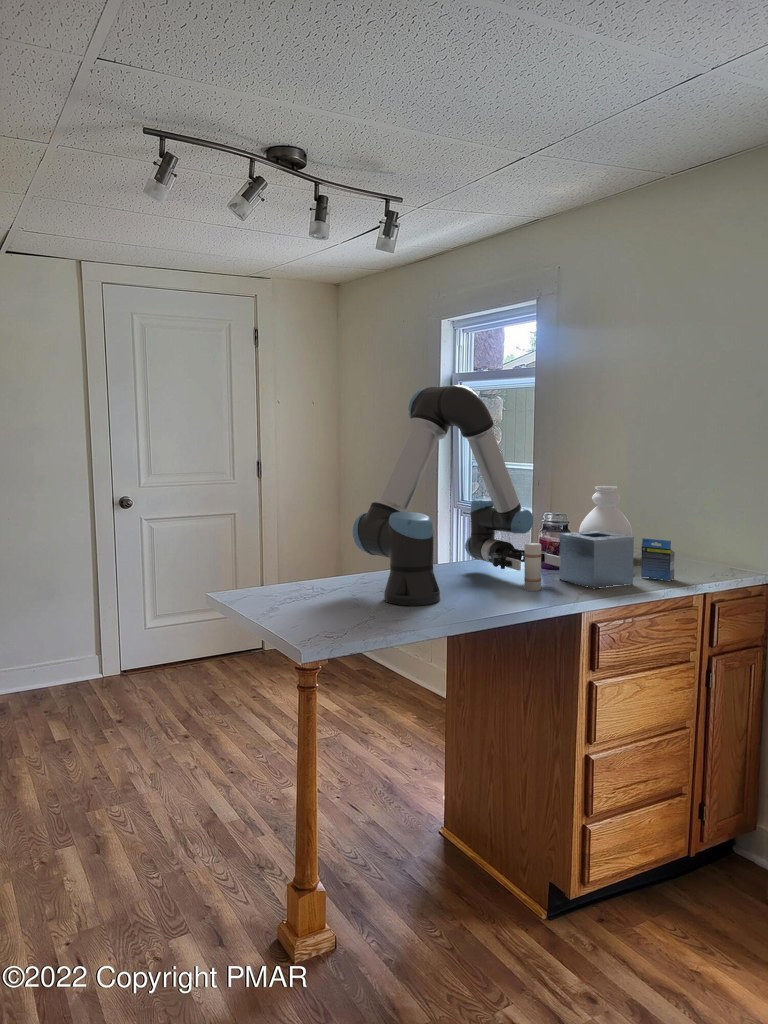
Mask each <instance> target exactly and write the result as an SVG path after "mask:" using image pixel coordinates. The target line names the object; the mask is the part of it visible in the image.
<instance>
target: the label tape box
mask: <svg viewBox="0 0 768 1024" xmlns="http://www.w3.org/2000/svg"><path fill="white" fill-rule="evenodd" d="M641 540H642V541H641V564H640V565H641V566H640V567H641V568H640V569H641V571H640V573H641V574H640V576H641V577H649V578H656V579H663V580H670V581H669V582H672V581H673V580H672V579H674V580H675V555H676V554H675V551H673V550H672V549H671V548H672V547H671V546H672V540H665V539H656V538H655V539H654V538H645V537H644V538H642V539H641ZM656 543H657V544H660V545H656ZM663 580H662V581H663ZM671 580H672V581H671Z"/></svg>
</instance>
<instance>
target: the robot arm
mask: <svg viewBox="0 0 768 1024" xmlns="http://www.w3.org/2000/svg"><path fill="white" fill-rule="evenodd" d="M408 411H409V413H408V416H409V418H410V419H409V421H408V424H409V426H410V428H411V429H410V430H409V433H408V435H407V437H406V439H405V442H404V444H403V447H402V449H401V450H400V452H399V453H400V454H399V455H398V457H397V459H396V461H395V464H394V466H393V468H392V470H391V472H390V475H389V477H388V480H387V482H386V484H385V485H384V488H383V489H382V493H381V494H380V497H379V499H377V500H374V501H372V502H371V504H370V506H369V509H368V511H367V512H363V513H361V514H360V515H359V516H357V518H356V519H355V521H353V522H354V523H353V525H352V536H353V539H354V543H355V545H356V547H357V548H358V549H359V550H360V551H362V552H363V553H366V554H368V555H370V556H379V557H384V558H389V563H390V564H389V566H390V567H389V570H390V571H389V575H388V579H387V582H386V584H385V588H384V592H383V597H384V598H383V599H385V600H386V601H387V602H390V603H393V604H392V605H395V604H399V605H398V606H404V605H409V606H408V607H411V606H416V607H417V606H426V605H433V604H436V603H439V602H440V600H441V591H440V587H439V584H438V581H437V578H436V576H435V572H434V528H433V520H432V519H431V517H430V516H428V515H427V514H424V513H421V512H413V511H408V509H409V507H410V505H411V503H412V500H413V498H414V495H415V493H416V491H417V488H418V486H419V484H420V482H421V479H422V477H423V475H424V473H425V471H426V468H427V467H428V464H429V462H430V459H431V458H432V455H433V452H434V450H435V448H436V446H437V443H438V441H440V440H442V439H445V438H446V436H447V434H448V431H449V429H450V427H457V428H458V429H459V431H460V433H461V436H462V437H463V438H465V439H467V441H468V444H469V446H470V449H471V452H472V455H473V456H474V457H473V458H474V459H475V461H476V464H477V467H478V470H479V472H480V474H481V476H482V477H481V478H482V480H483V482H484V484H485V487H486V489H487V492H488V495H489V497H490V498H475V499H473V500H472V501H471V504H470V513H469V514H470V536H468V538H467V539H466V541H465V545H464V549H465V552H466V554H467V555H468V556H470V557H472V558H473V559H476V560H480V561H483V562H486V563H490V564H492V566H493V567H495V568H497V567H500V569H501V570H505V569H506V568H508V569H512V570H515V571H521V570H522V567H521V566H522V563H525V556H524V553H525V549H519V548H515V546H514V545H513V544H512V543H511V542H509V541H506V540H505V541H504V540H500V539H495V537H496V536H495V534H496V533H495V532H503V533H511V534H515V535H516V534H520V535H521V534H523V535H525V534H527V533H529V532H530V530H531V529H532V528H533V525H534V514H533V513H532V512H531V510H529V509H527V508H522V506H521V502H520V500H519V497H518V495H517V493H516V490H515V485H514V484H513V481H512V479H511V476H510V473H509V471H508V468H507V465H506V463H505V461H504V458H503V455H502V451H501V450H500V446H499V444H498V442H497V438H496V436H495V433H494V431H493V428H494V425H495V424H494V420H493V418H492V415H491V412H490V411H489V408H488V407H487V405H486V404H485V402H484V401H483V400H482V398H481V397H480V396H479V395H478V394H477V393H476V392H475V391H473V390H472V389H471V388H470V387H468V386H464V385H460V384H453V385H445V386H428V387H426V388H421V389H420V390H417V391H416V392H415V393H414V394H413V395H412V396H411V398H410V400H409V403H408ZM543 562H544V563H545V564H547V565H552V566H555V567H559V566H560V555H554V553H553V552H552V551H551V552H550V550H546V551H542V550H541V563H543ZM385 600H384V601H385ZM386 601H385V602H386ZM387 602H386V603H387ZM390 603H389V604H390Z"/></svg>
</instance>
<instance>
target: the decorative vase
mask: <svg viewBox="0 0 768 1024" xmlns="http://www.w3.org/2000/svg"><path fill="white" fill-rule="evenodd" d="M594 489H595V490H597V491H596V492H595V493H594V494H593V495H592V497H591V499H592V502H593V503H594V504H595V505H596V506H595V507H593V509H591V510H590V511H589V512H588V514H587V515H586V516H585V517H584V518H583V520H582V521H581V523H580V526H579V530H578V532H585V531H596V530H598V531H604V532H609V533H615V534H621V535H626V536H632V537H633V527H632V525H631V522H630V521H629V520H628V518H627V517H626V516H625V514H624V513H623V512H622V511H621V510H620V509H619V508H618V507H617V506H616V505H617V504H618V503H619V502H620V501H621V495H620V494H619V493H618V492H616V491H615V490H617V489H618V486H616V485H596V486H594Z"/></svg>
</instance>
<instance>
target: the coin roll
mask: <svg viewBox="0 0 768 1024" xmlns="http://www.w3.org/2000/svg"><path fill="white" fill-rule="evenodd" d="M524 550H525V553H524V556H525V562H524V576H523V578H524V591H527V590H528V592H539V591H538V590H540V591H541V590H542V562H541V551H542V544H541V543H538V542H537V543H536V542H528V543H524Z"/></svg>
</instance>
